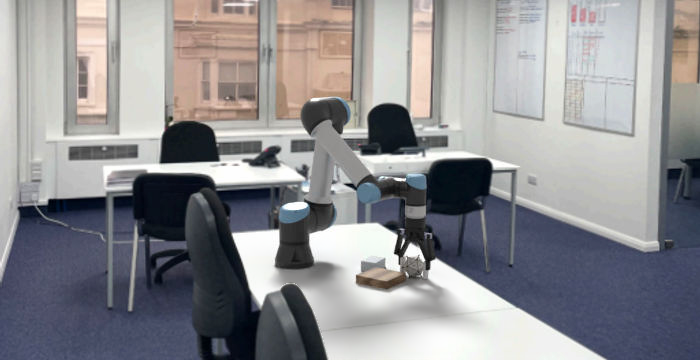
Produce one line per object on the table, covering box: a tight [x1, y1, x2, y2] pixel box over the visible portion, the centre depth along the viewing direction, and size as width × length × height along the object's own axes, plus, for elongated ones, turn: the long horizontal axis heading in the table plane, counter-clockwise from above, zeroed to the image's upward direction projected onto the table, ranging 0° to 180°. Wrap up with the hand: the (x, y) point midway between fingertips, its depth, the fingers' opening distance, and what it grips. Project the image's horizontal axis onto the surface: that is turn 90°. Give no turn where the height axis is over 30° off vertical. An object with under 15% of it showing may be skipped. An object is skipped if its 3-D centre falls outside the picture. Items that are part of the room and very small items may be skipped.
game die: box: [401, 254, 424, 279], centre depth 299 cm, size 9×8×10 cm
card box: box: [360, 255, 386, 272], centre depth 310 cm, size 6×9×4 cm, turn 153°
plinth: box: [355, 267, 407, 291], centre depth 292 cm, size 13×13×3 cm
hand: (414, 276), depth 300 cm, fingers open, 9 cm apart
